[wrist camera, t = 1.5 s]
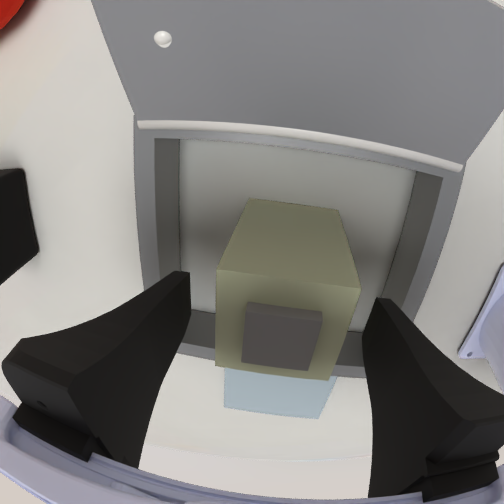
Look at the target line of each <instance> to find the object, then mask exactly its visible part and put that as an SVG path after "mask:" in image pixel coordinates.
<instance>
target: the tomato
mask: <svg viewBox="0 0 504 504" xmlns="http://www.w3.org/2000/svg"><path fill="white" fill-rule="evenodd" d="M24 1H25V0H0V29H2V28H3V27H4V26H5V25H6V24H7V23H8V22H9V21H10V20H11V19H12V17H13V16H14V15H15V14H16V13H17V12H18V10H19V9H20V7H21V6H22V4H23V3H24Z"/></svg>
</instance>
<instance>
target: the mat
mask: <svg viewBox="0 0 504 504" xmlns="http://www.w3.org/2000/svg"><path fill="white" fill-rule="evenodd" d="M336 379H337V376H330V378H329V381H323V380H312V379H302V378H293V377H285V376H277V375H269V374H262V373H255V372H249V371H242V370H236V369H230V368H225V390H224V407H225V408H231V409H237V410H243V411H250V412H256V413H264V414H271V415H280V416H289V417H299V418H311V419H318V418H319V416H320V414H321V412H322V410H323V408H324V406H325V404H326V401H327V399H328V397H329V395H330V393H331V390H332V388H333V386H334V383H335V381H336Z"/></svg>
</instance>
